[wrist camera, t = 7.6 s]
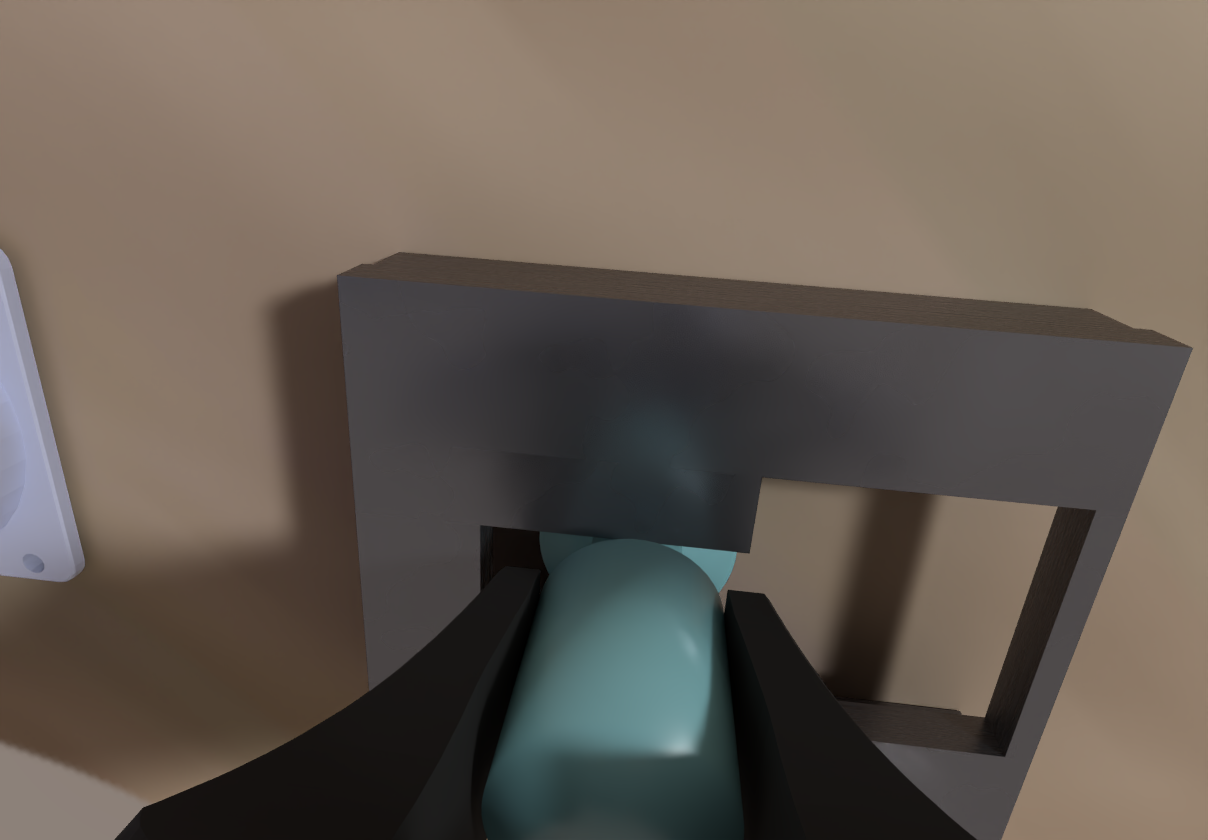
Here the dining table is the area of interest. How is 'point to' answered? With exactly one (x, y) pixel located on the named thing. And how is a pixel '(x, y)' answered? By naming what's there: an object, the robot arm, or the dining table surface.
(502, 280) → the keyhole plate
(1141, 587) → the dining table surface
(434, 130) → the dining table surface
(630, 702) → the peg
